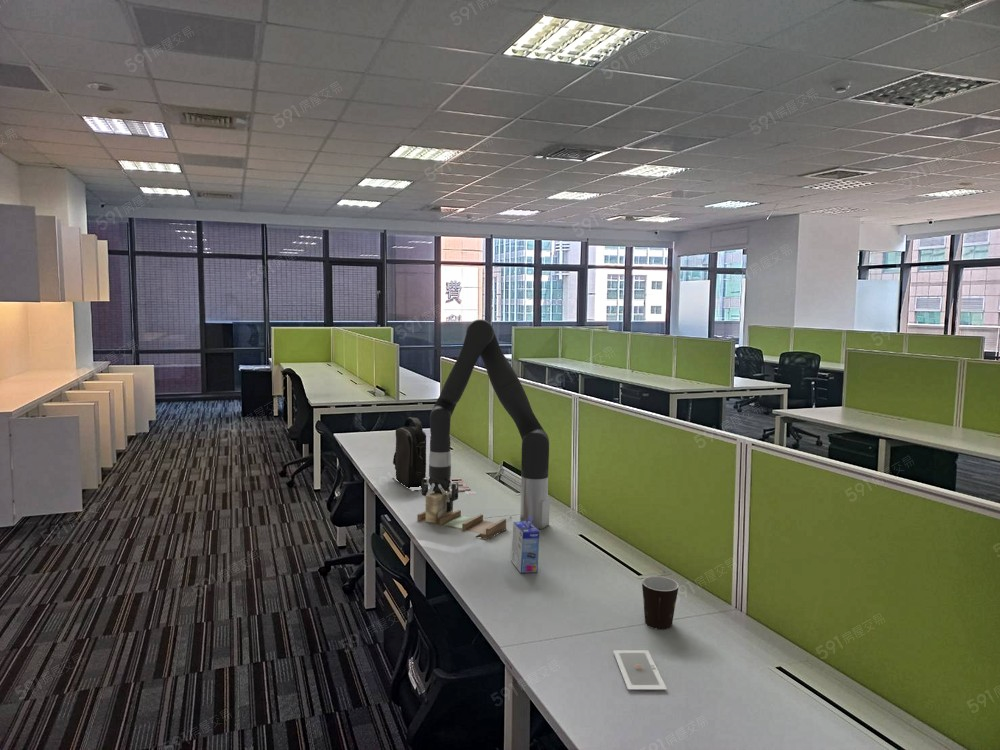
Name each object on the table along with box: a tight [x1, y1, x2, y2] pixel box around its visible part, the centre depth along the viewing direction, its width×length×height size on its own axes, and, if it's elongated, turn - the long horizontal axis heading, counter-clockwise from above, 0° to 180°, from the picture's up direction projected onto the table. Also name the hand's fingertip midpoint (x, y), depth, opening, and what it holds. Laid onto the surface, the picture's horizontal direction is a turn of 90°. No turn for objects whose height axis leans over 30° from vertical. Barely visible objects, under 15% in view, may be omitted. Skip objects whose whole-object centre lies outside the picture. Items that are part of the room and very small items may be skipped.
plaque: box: [450, 477, 477, 495], centre depth 277 cm, size 34×1×10 cm
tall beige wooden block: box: [425, 488, 454, 524], centre depth 234 cm, size 4×11×9 cm, turn 152°
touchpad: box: [612, 649, 668, 690], centre depth 142 cm, size 8×15×2 cm, turn 2°
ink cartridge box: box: [510, 516, 540, 574], centre depth 196 cm, size 10×6×14 cm, turn 15°
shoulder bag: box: [392, 416, 427, 488], centre depth 282 cm, size 23×9×28 cm, turn 30°
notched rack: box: [416, 509, 507, 540], centre depth 230 cm, size 28×12×4 cm, turn 62°
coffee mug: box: [641, 575, 679, 630], centre depth 162 cm, size 12×9×10 cm
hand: (439, 509), depth 234 cm, fingers open, 7 cm apart
